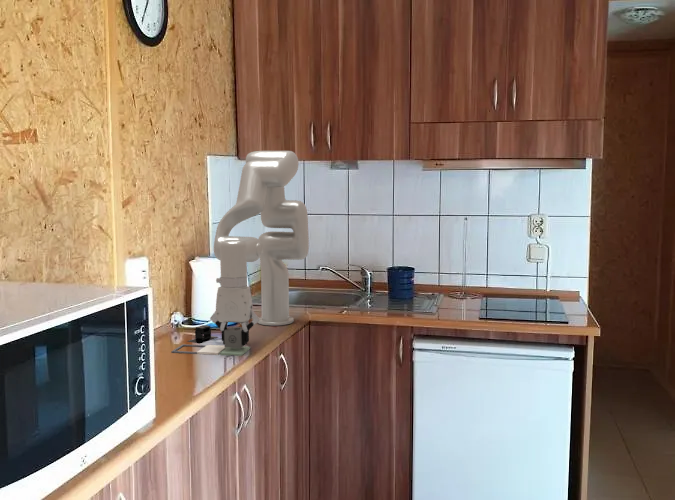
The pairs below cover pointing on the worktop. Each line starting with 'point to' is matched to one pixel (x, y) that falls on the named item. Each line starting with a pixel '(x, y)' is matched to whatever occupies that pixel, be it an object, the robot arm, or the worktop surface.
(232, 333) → the dice cube
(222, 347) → the game board
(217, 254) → the robot arm
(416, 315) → the worktop surface
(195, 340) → the black angular block
